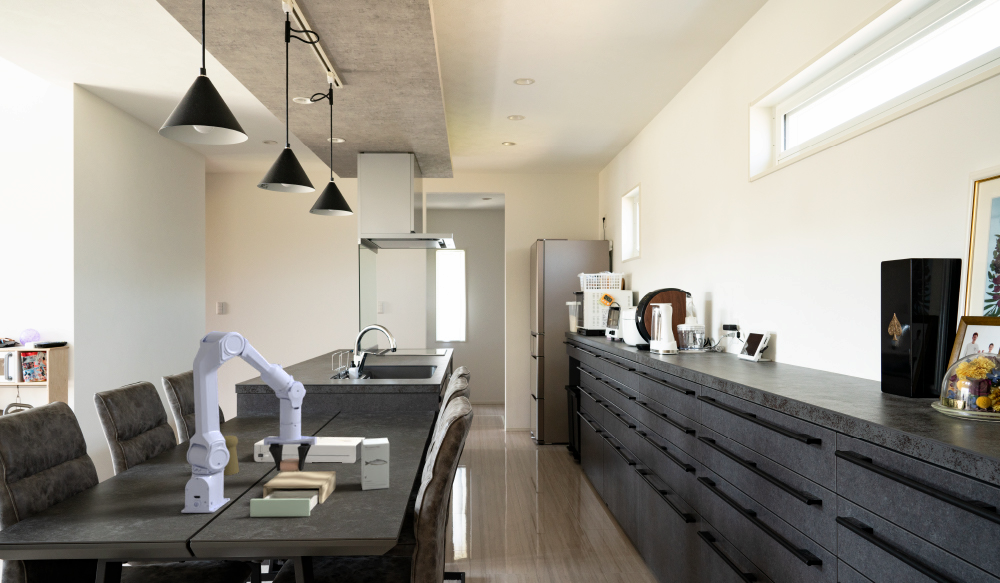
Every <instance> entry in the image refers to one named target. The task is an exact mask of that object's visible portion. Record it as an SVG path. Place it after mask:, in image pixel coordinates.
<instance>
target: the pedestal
mask: <svg viewBox="0 0 1000 583" xmlns="http://www.w3.org/2000/svg"><path fill="white" fill-rule="evenodd" d="M280 472H301V471H299V469H296V470H290V471H284V470H280Z"/></svg>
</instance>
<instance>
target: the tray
mask: <svg viewBox="0 0 1000 583" xmlns="http://www.w3.org/2000/svg"><path fill="white" fill-rule="evenodd" d="M249 502H250V504H249V506H250V507H249V509H250V512H249V515H250V518H252V517H255V518H256V517H259V518H261V517H263V518H264V517H310V516H311V511H312V510H313V509H314V508H315V507H316V505H317V504H319V490H282V491H272V492H271V493H270V494H269V495H268V496H266V497H265V498H264V499H263V498H251V499H250V500H249Z"/></svg>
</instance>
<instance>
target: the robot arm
mask: <svg viewBox="0 0 1000 583" xmlns="http://www.w3.org/2000/svg"><path fill="white" fill-rule="evenodd" d="M236 357H239V358H241V359H242V360H243V361H244V362H246V363H247V364H248V365H250V366H251V367H252V368H253V369H255V370H256V371H258V372H259V373H260V376H259V378H260V380H261V381H262V382H263V383H265V384H266V385H267V386H269V387H270V388H271V389H272V390H273V391H274V392H275V396H276V398H278V399H279V436H275V437H268V436H266V437H263V439H264V445H270V447H269V451H270V453H271V454H272V456H273V458H274V461H275V462H274V464H275V468H276V471H277V472H281V470H280V461H281V460H282V450H283V445H301V446H299V447H298V455H299V471H300V472H303V470H304V467H305V464H306V463H305V459H306V456H307V454H308V451H309V449H310V447H311V445H315V444H317V437H318V436H308V435H307V436H306V435H302V404H303V398H304V397H305V395H306V392H307V390H306V389H305V387H304V385H303V384H304V383H302V382H301V381H299V380H295V379H294V376H293V375H292V374H288V372H286V371H285V370H284V369H283V368H284V367H283V365H282V364H281V363H280V364H278V363H269V361H268V360H266V358H264V356H263V355H262V354H260V352H259V351H258V350H257V349H256V348H255V347H253V345H251V343H250V341H249V339H247V338H246V337H244V336H243V335H242V334H241V333H239V332H238V331H219V330H212V331H209V332H208V333H207V334H205V335H204V336H203V337H202V338H201V339H199V348H198V351H197V352H196V355H195V357H194V359H193V362H192V371H193V373H192V375H193V376H192V377H193V399H194V400H193V402H194V422H195V425H194V426H195V433H194V434H193V435H192V437H191V438H190V439H189V447H188V450H187V452H186V461H187V462H188V464H189V465H191V477H190V479H189V480H188V481H187V482H186V485H185V486H184V487H185V488H184V493H185V494H184V508H182V510H181V511H180V512H181V513H182V514H183V513H184V514H185V513H187V514H188V513H189V514H191V513H192V514H193V513H195V514H196V513H202V514H203V513H206V514H207V513H215V512H216V511H217V510H219V509H220V508H221V507H223V506H224V505H225V504H227V503H228V502H229V501H230V500H231V498H229V497H228V498H226V497H224V491H225V490H224V486H225V485H224V483H225V482H224V481H225V480H224V467H225V466H226V465H227V463H228V461H229V451H228V449H227V448H226V444H225V439H224V435H223V434H222V432H221V431H220V430H221V429H220V410H219V409H220V408H219V385H218V384H219V383H218V369H219V368H220V367H222V366H223V365H224V364H225V363H226V362H228V361H229V360H232V359H233V358H236Z"/></svg>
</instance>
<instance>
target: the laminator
mask: <svg viewBox="0 0 1000 583" xmlns="http://www.w3.org/2000/svg"><path fill="white" fill-rule="evenodd" d="M267 437H276V436H267ZM316 437H317V444H315V445H311V447H310V449H309V451H308V454H307V456H306V459H305V463H304V464H307V463H308V464H313V463H312V462H342V463H341V464H356V463H357V462H358V461H359V460H360V459H361V440H362V439H368V437H358V436H357V437H356V436H355V437H352V436H351V437H347V436H346V437H345V436H339V437H338V436H334V437H333V436H316ZM299 446H301V445H283V450H282V460H284V459H291V458H296V459H299V455H298V447H299ZM269 447H270V445H264V438H263V439H260V440H258V441H256V442H254V444H253V460H254V462H255V463H275V461H274V458H273V456H272V454H271V453H270V451H269Z"/></svg>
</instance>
